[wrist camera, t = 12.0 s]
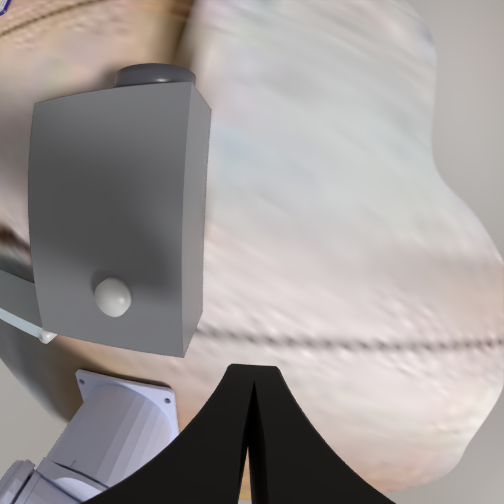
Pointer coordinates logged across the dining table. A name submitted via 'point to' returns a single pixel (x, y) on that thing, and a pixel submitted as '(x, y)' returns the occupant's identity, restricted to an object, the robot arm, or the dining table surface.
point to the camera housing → (121, 210)
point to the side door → (21, 306)
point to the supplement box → (4, 6)
